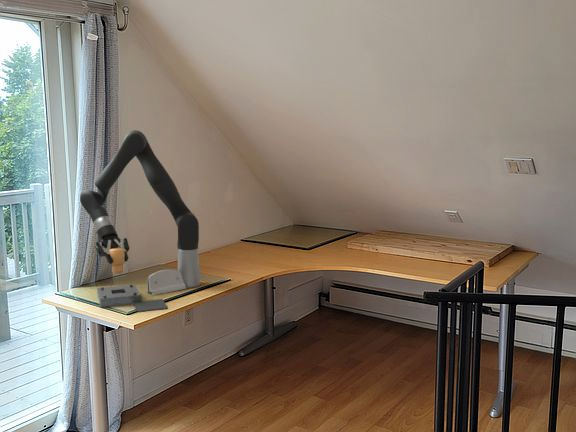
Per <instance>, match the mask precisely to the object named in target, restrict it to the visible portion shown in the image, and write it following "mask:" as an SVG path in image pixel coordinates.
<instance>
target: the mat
mask: <svg viewBox="0 0 576 432" xmlns="http://www.w3.org/2000/svg"><path fill="white" fill-rule="evenodd" d="M134 305H135V306H134ZM133 306H134V308H135V307H136V308H135V311H136V312H137V313H141V312H143V313H144V312H150V311H162V310H168V309H169V307H168V305H167V304H166V302H165V300H164V299H163V298H159V299H158V298H157V299H149V300H141V302H136V303H134V304H133Z"/></svg>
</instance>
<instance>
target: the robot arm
mask: <svg viewBox="0 0 576 432" xmlns="http://www.w3.org/2000/svg"><path fill="white" fill-rule="evenodd" d="M155 154H156V153H154V151H153V149H152V147H151V145H150V143H149V141H148V139H147V137H146V135H145V134H144V133H143V132H141V131H140V130H135V129H134V130H131V131H129V132H128V133H126V134H125V136H124V138H123V140H122V143H121V145H120V146H119V148H118V151H117V152H116V154H115V155H114V156H113V158H112V159H111V161H110V162H109V163H108V164H107V165H106V166H105V167H104V169H103V170H102V172H100V174H99V175H98V177H97V178H96V179H95V182H94V185H95V188H97V190H98V191H97V190H96V191H97V192H96V191H94V190H92V189H84V190H82V192H80V195H79V202H80V204H81V206H82V208H83V209H84V210H85V211H86V213H87V214H88V215H89V217H90V219H91V221H92V223H93V226H94V229H95V232H96V235H97V237H98V239H99V241H100V242H98V241H97V242H96V243H95V245H94V248H95V250H96V251H97V253H98V255H99V256H100V257H101V258H102V257H104V258H105V259H106V260H107V263H108V264H109V265H111V264H112V263H113V260H112V257H111V255H110V254H109V249H110V248H116V247H122V248H124V253H125V263H126V262H128V260H129V255H128V253H129V250H130V246H129V241H128V238H127V237H124V238H123V239H122V238H120V237H119V236H118V235H119V234H118V232H117V230H116V228H115V226H114V225H115V224H113V221H112V219H111V218H110V216H109V214H108V211H107V210H106V208H105V207H104V206H103V205H104V204H105V202H106V200H107V197H108V195H109V193H110V190H111V189H112V187H113V186H114V184H115V183H116V182H117V181H118V179H120V176H121V175H122V173H123V171H124V170H125V169H126V168H127V166H128V164H129V163H130V162H131V161H132V160H133V159H134V158H135V157H136V159H137V160H138V162H139V163H140V165H141V167H142V170H143V172H144V176H145V178H146V179H147V182H148V183H149V185H150V187H151V188H152V190H153V192H154V193H155V194H156V196H157V197H158V199H159V200H160V201H161V202H162V203H163V204H164V206H166V208H167V209H168V211H169V212H170V214H171V216H172V218H173V220H174V221H175V222H174V223H175V224H176V226H177V243H176V244H177V245H176V246H177V270H178V271H180V272H181V275H182V278H183V281H184V284H185V285H186V289H188V288H195V287H200V285H201V272H200V271H201V269H200V267H201V266H200V264H199V243H200V242H199V240H200V232H199V231H200V230H199V229H200V228H199V227H200V225H199V220H198V218H197V216H195V214H194V213H193V212H192V211H191V210H190V209H189V207H188V206H187V205H186V203H185V202H184V201H183V199H182V197H181V195H180V192H179V190H178V188H177V186H176V184H175V182H174V180H173V178H172V177H171V176H170V174H169V173H168V171H167V170H166V169H165V167H164V166H163V164H162V162H161V161H160V160H159V159H158V158H157V156H156V155H155ZM103 248H105V250H104V249H103Z"/></svg>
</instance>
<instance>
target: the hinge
mask: <svg viewBox="0 0 576 432" xmlns="http://www.w3.org/2000/svg"><path fill="white" fill-rule="evenodd" d="M146 287H147V288H146V289H147V290H146V291H147V294H149V293H151V296H156V295H155V294H157V295H160V294H161V293H162V294H165V293H167V294H168V293H170V292H176V291H179V290H180V291H181V290H182V291H183V290H185V289H187V288H186V285H185V284H184V281H183V278H182V275H181V272H180V271H178V269H161V270H158V271H156V272H154V273H151V274H149V275H148V276H147V277H146ZM162 294H161V295H162Z"/></svg>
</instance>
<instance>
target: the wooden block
mask: <svg viewBox="0 0 576 432" xmlns="http://www.w3.org/2000/svg"><path fill="white" fill-rule="evenodd" d="M109 254H110V255H111V257H112V260H113V263H112V264H110V265H111V271H112V274H114V275H117V274H118V275H119V274H123V273H124V264H125V263H126V262H125V253H124V248H122V247H116V248H110V249H109Z"/></svg>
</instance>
